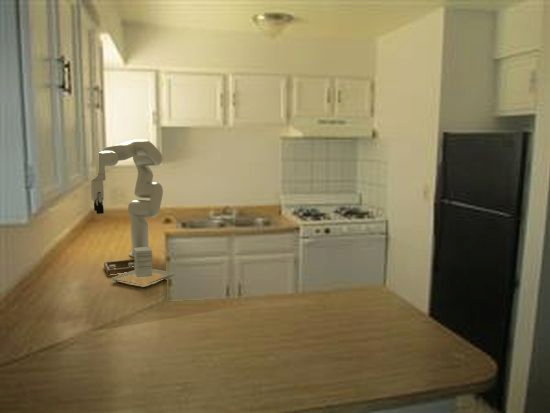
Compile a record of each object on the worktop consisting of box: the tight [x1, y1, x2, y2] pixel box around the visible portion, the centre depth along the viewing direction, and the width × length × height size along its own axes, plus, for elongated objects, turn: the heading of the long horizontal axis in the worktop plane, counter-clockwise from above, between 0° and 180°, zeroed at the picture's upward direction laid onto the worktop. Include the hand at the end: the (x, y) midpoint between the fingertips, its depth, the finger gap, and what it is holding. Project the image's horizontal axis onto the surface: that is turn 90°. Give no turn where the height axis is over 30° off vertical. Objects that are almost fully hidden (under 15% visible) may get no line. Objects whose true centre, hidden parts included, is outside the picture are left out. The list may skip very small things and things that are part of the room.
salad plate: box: [110, 268, 176, 285], centre depth 220 cm, size 21×21×3 cm
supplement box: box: [133, 246, 153, 278], centre depth 218 cm, size 7×7×13 cm
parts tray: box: [103, 258, 134, 276], centre depth 236 cm, size 16×16×3 cm
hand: (98, 212), depth 229 cm, fingers open, 9 cm apart
